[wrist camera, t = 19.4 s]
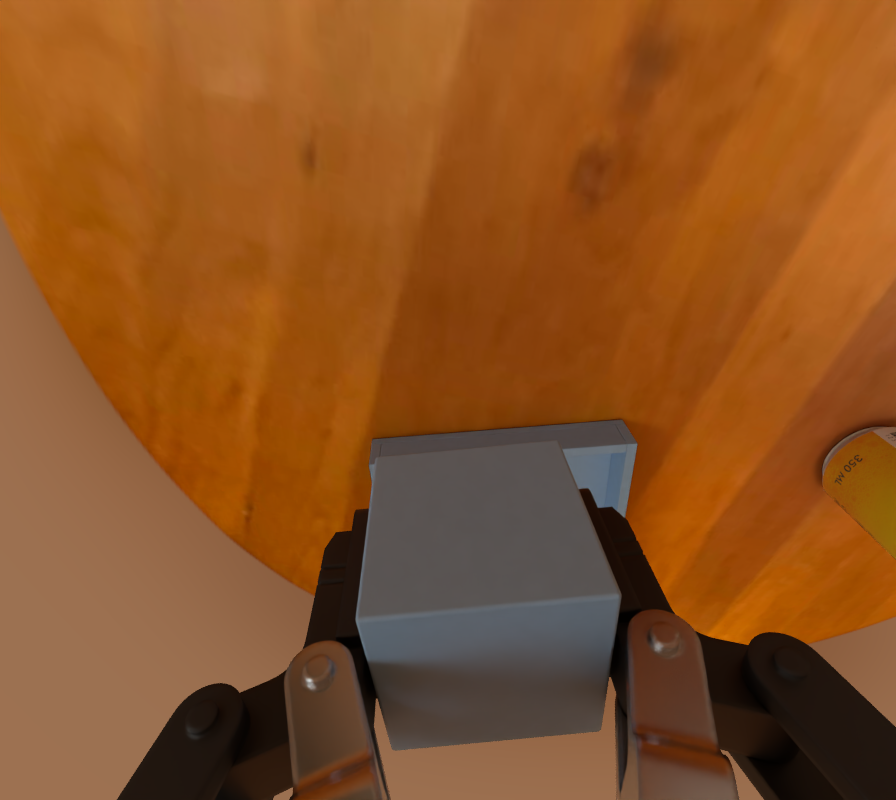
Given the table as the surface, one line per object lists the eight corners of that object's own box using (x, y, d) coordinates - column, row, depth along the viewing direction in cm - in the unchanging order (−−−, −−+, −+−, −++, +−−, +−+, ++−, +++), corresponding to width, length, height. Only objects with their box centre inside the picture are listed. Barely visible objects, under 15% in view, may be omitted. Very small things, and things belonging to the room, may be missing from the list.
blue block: (399, 578, 14) (391, 753, 11) (374, 455, 12) (353, 621, 8) (553, 563, 14) (602, 733, 11) (559, 438, 12) (624, 595, 8)
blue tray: (397, 583, 37) (395, 613, 35) (372, 438, 30) (368, 464, 28) (601, 567, 37) (612, 595, 35) (622, 419, 30) (637, 443, 28)
